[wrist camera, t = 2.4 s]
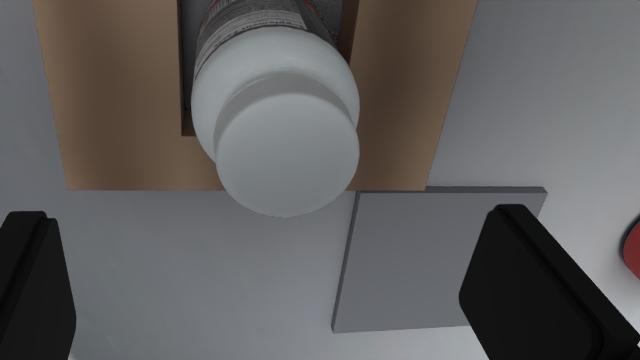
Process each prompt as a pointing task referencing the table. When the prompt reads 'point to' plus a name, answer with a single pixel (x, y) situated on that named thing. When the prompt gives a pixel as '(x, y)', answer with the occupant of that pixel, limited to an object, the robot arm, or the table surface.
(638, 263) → the beer can
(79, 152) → the brown flat hollow frame
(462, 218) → the charcoal mat
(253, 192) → the pill bottle
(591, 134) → the table surface
